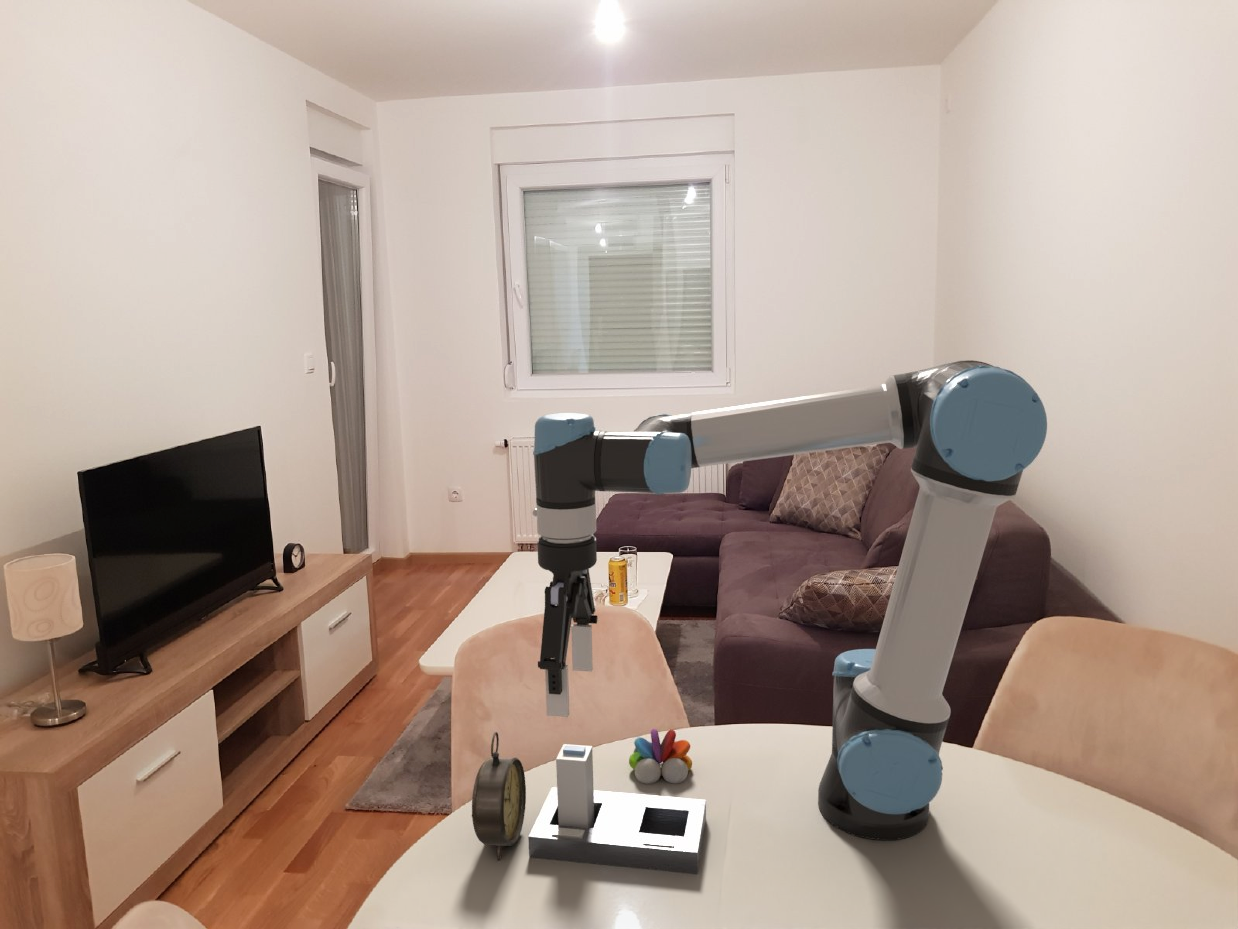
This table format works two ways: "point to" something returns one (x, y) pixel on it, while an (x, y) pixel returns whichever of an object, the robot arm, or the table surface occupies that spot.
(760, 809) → the table surface
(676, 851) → the panel
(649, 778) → the rainbow petal toy
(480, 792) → the alarm clock
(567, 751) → the plug
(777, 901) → the table surface
